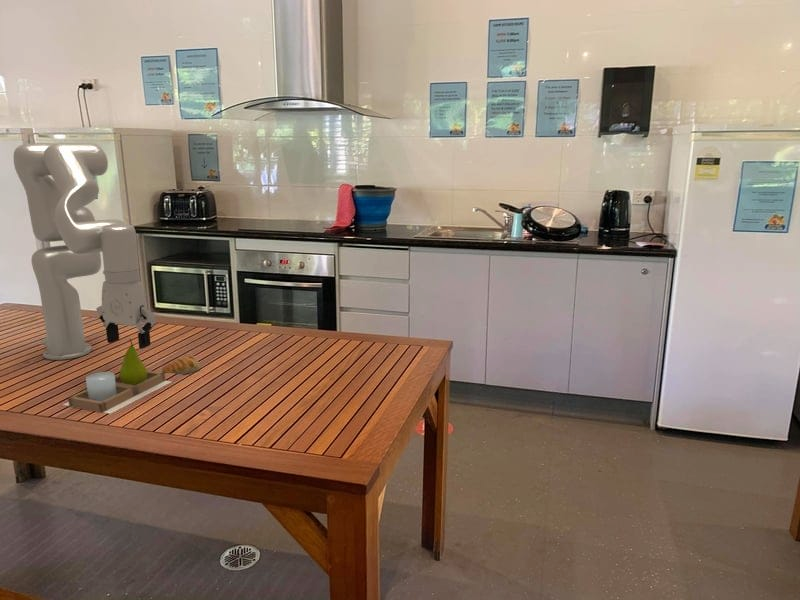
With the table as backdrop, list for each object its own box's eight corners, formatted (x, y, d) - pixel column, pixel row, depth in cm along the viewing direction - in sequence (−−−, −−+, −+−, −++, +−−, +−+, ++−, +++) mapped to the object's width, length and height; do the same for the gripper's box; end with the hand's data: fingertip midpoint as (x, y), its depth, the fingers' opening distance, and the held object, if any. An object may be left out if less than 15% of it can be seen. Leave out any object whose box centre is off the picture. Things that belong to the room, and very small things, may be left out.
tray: (63, 409, 137) (61, 396, 136) (128, 379, 155) (127, 367, 154) (110, 418, 132) (109, 405, 132) (172, 386, 151) (171, 374, 150)
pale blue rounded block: (83, 403, 137) (79, 379, 136) (103, 394, 143) (100, 370, 141) (103, 407, 135) (100, 382, 134) (123, 397, 141) (120, 373, 139)
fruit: (131, 391, 144) (125, 344, 141) (115, 386, 147) (110, 340, 144) (154, 383, 149) (149, 337, 146) (138, 378, 152) (133, 333, 149)
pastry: (169, 380, 155) (168, 366, 154) (157, 374, 160) (156, 360, 159) (202, 370, 162) (201, 357, 161) (189, 365, 166) (188, 352, 165)
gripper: (81, 276, 141) (89, 344, 145) (139, 283, 135) (146, 354, 140) (106, 269, 148) (113, 335, 152) (163, 277, 142) (168, 344, 147)
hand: (129, 344), depth 146 cm, fingers open, 9 cm apart
